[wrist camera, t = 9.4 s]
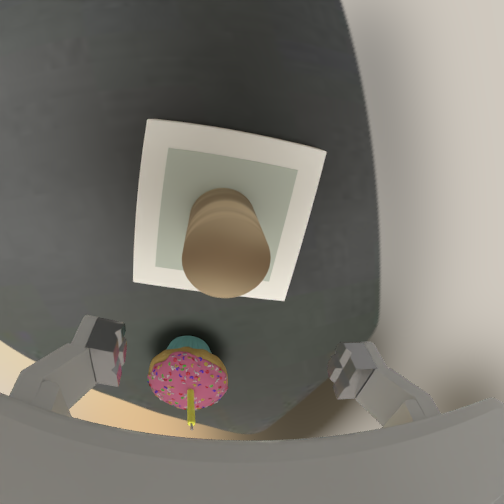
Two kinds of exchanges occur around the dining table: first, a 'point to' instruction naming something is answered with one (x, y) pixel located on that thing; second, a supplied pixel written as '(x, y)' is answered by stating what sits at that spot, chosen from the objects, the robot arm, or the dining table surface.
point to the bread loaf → (224, 245)
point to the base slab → (221, 176)
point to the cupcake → (188, 375)
